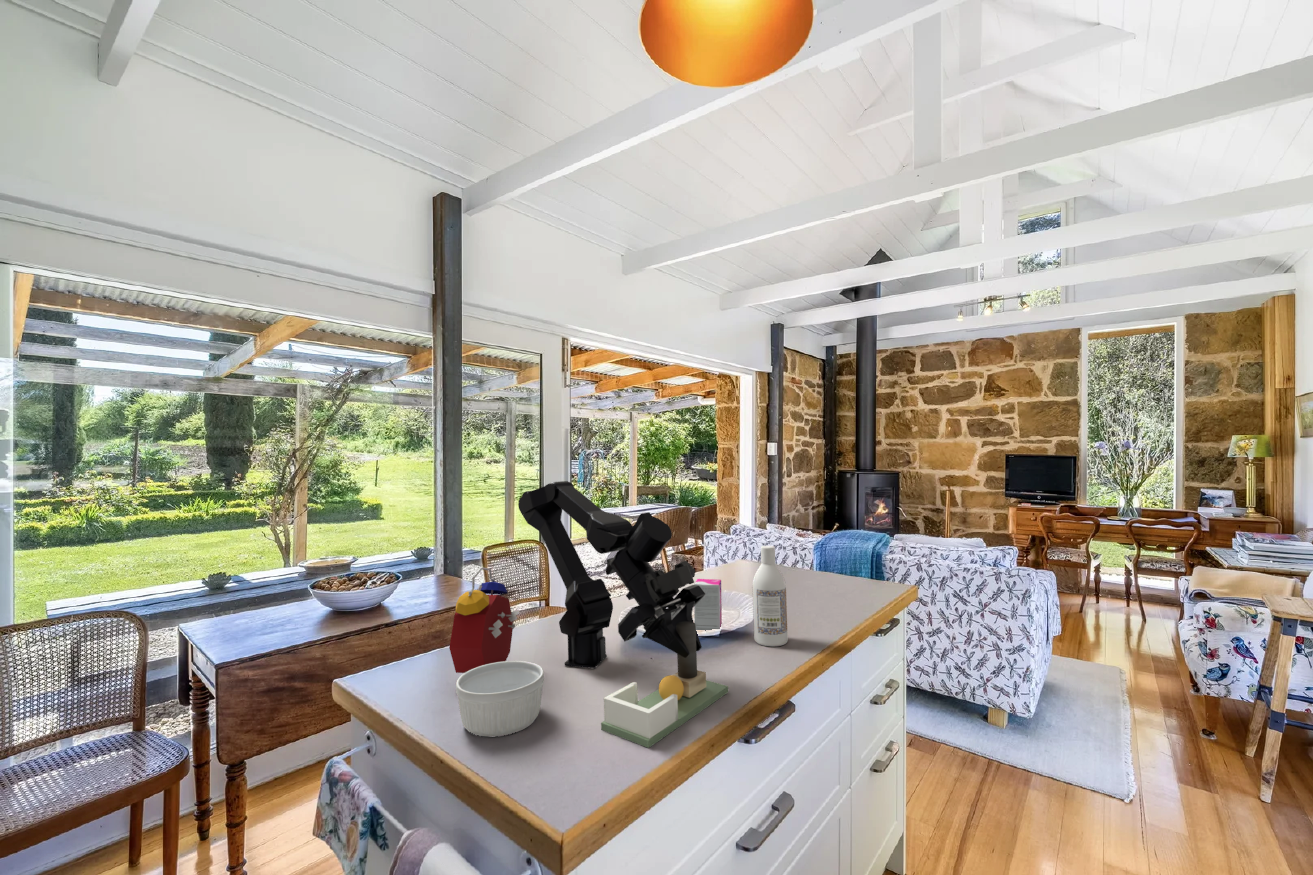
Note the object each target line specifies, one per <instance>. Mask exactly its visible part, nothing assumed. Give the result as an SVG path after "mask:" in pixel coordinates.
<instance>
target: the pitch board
mask: <svg viewBox="0 0 1313 875" xmlns="http://www.w3.org/2000/svg"><path fill="white" fill-rule="evenodd" d="M728 693H729V685H726V684H722V683H718V682H716V681H715V682H714V681H712V680H708V679H706V687H705V688H704V689H702V690H701V691H699V692H698V693H696V694H695V695H693V696H692V697H690V698H688V697H685V696H682V697H681V698H680V699H679V700H678V720H677V721H675V722H673V723H672V724H671V725H669V726H668V727H666V728H665V729H663V730H662V731H660V732H659V733H657V734H656V735H654V736H653V737H651V738H650V739H649V738H646V737H643V736H641V735H638V734H636V733H633V732H630V731H628V730H625V729H622V728H620V727H617V726H614V725H612V724H609V723H606V722H604V720H603V721H601V723H600V728H601V730H602V731H603V732H607V733H608V734H611V735H614V736H616V737H619V738H622V739H625V740H627V741H629V742H632V743H635V744H637V745H639V746H642V747H645V748H648V749H649V748H651V747H652V746H653V745H655V744H657V742H658V743H659V741H660V740H662V739H664V738H665V737H666V736H668V735H669V734H671V733H672V732H673V731H675V730H676V729H678V728H679V727H682V725H684V724H685V723H687V722H688V721H690V719H692V718H694V717H695V716H697V715H699V713H701V712H702V711H704V710H705V709H706V708H708V707H709V706H711V705H712V704H714V703H716V701H718V700H719V699H721V698H722V697H724V696H725V695H726V694H728ZM661 701H663V699H662V697H661V696H660V693H659V688H658V689H657V690H655V691H654V692H651V693H650V694H648V695H646V696H645V697H642V699H640V700H639V699H638V706H641V707H644V708H647V709H650V708H651V707H653V706H655V705H656V704H658V703H660V702H661ZM670 732H671V733H670ZM663 737H664V738H663Z"/></svg>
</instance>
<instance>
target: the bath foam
mask: <svg viewBox="0 0 1313 875" xmlns="http://www.w3.org/2000/svg"><path fill="white" fill-rule="evenodd" d="M760 560H761V563H760V565H759V567H758V569H757V570H756V572H755V574H754V576H753V580H752V587H751V588H752V609H753V610H752V612H753V613H752V615H753V635H754V636H753V638H754V639H753V640H754V641H755V643H756V644H758V645H761V646H764V647H780V646H785V644H787V643H788V639H789V638H788V636H789V635H788V609H787V608H788V607H787V587H786V586H787V584H786V581H785V577H784V575H783V573H782V572H781V569H780V568H779V567H778V565H777V564H776V547H775V546H774V545H762V546H760Z"/></svg>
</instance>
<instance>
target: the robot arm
mask: <svg viewBox="0 0 1313 875" xmlns="http://www.w3.org/2000/svg"><path fill="white" fill-rule="evenodd" d="M517 504H518V510H519V511H520V514H521V516H523V518H524V520H525V521H526V523H527V524H528V525H529V526H531V527H532V528H533V529H534V530H535V529H536V530H537V531H538V532H539V533H540V536H541V537H542V539H543V542H544V544H545V547H546V548H547V550H548V552H549V555H550V557H551V558H552V561H553V563H554V565H555V567H556V570H557V572H558V574H559V575H560V578H561V580H562V582H563V584H564V587H565V589H566V594H565V599H564V606H565V609H566V611H565V612H564V614H563V616H562V617H561V618H560V619H559V621H558V625H559V628H560V629H559V630H560V633H561V634H563V635H566V636H567V658H568V659H567V660H566V661H564V666H565V667H573V668H574V667H575V668H584V669H585V668H586V669H596V668H597V667H598V666H599V665H600V664H601V663H602V662H603V661H605V659H607V657H608V654H607V652H606V651H607V650H606V649H607V648H606V646H607V645H606V636H605V635H604V629H605V628H609V627H610V624H611V618H612V614H613V611H614V610H613V609H614V603H613V601H612V599H611V596H612V594H611V592H609V590H608V588H607V587H606V584H605V581H604V580H603V579H602V578H597V579H593V578H591V576H590V575H589V573H588V572H587V569H586V567H585V566H584V564H583V562H582V560H581V558H580V556H579V554H578V552H577V550H576V548H575V546H574V544H573V542H572V540H571V538H570V536H569V534H568V532H567V530H566V528H565V526H564V524H563V521H562V513H563V511H564V512H565V513H566V514H567V515H568V516H569V517H571V519H573V521H575V522H576V523H577V524H579V526H580V527H582V528H583V530H584V531H585V534H586V540H587V541H588V542H589V544H590V545H591V546H592V548H593V549H594V550H595V551H596V552H597V553H599V554H600V555H601V554H602V555H603V554H608V553H614V552H616V553H615V554H614V556H613V557H611V558H607V560H606V568H605V574H606V575H607V576H609V575H612V574H614V573H616V575H617V576H618V578H619V580H620V581H621V582H622V583H623V585H624V586H625V587H626V589H627V590H628V592H627V593H626V595H625V597H626V598H627V599H628V601H630V600H634V601H635V602H636V604H637V605H636V606H633V607H632V608H630V610H629V611H628V612H627V614H625V616H624V617H623V618H622V619H621V620H620V621H619V623H618V624H617V631H618V632H617V633H618V634H619V636H620V637H621V638H622V640H623V641H624V643H625V642H627V641H630V640H632V639H633V638H635V637H636V636H638V632H637V631H638V628H639V627H641V626H643V629H644V633H643V634H642V635H641V637H642V638H643V639H648V640H650V641H653V642H654V643H657V644H659V645H661V646H663V647H664V648H667V649H668V650H670V651H672V652H673V653H675V654H676V655H677V654H679V655H681V656H682V657H684V658H687V657H688V656H689V655H690V653H689V651H688V649H687V647H686V645H685V644H684V642H683V641H682V639H681V637H680V636H679V634H678V633H677V630H676V624H677V623H679V622H693V623H694V618H693V610H694V606H695V605H696V604H697V603H698V602H699V601H700V600H701V599H702V598H703V597H704V595H705V593H704V591H703V590H702V589H701V587H700V586H699V585H694V584H695V580H694V578H695V575H696V569H695V568H694V567H693V566H692V565H691V564H690V563H689V561H687V560H683V561H681V562H680V563H676V564H674V569H672V570H668V571H667V572H664V571H663V570H661V569H657V570H655V569H654V568H653V567H652V565H651V564H650V563H652V562H654V561H655V560H656V559H657V558H658V556H659V555H660V554H661V552H662V551H663V550H664V548H665V547H666V545H667V544H668V543H669V542H670V540H672V536H673V532H672V529H671V528H670V526H669V524H668V523H665V522H664V521H663V520H662V519H659V518H658V517H656V516H653V515H652V513H651V512H649V511H648V512H642V513H640V514H639V516H638V517H637V520H636V521H635V523H634V524H633V525H632V523H631V522H630V521H629V520H628V519H626V518H624V517H622V516H621V515H618V514H615V513H610V512H608V511H607V512H606V511H604V510H603V509H601V508H600V507H599V506H598V505H596V504H595V503H594V502H593V501H591V499H589V498H588V497H587V496H586V495H584V494H583V493H582V492H580V491H579V490H578V489H576V488H575V486H574V484H573V483H572V482H571V481H568V480H565V481H564V480H562V481H550V483H547V484H545V485H544V486H541V487H539V488H535V489H533V490H527V491H526V490H525V491H524V492H523V493H522V495H521V497H520V498H519V499H518V503H517ZM687 585H688V586H687ZM686 586H687V587H686ZM683 587H684V588H683ZM681 588H682V589H681ZM680 589H681V590H680ZM699 637H700V636H698V634H697V631H696V652H699V651H700V650H701V649H702V648H703V647H702V643H701V640H700V638H699Z"/></svg>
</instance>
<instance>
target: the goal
mask: <svg viewBox="0 0 1313 875" xmlns="http://www.w3.org/2000/svg"><path fill="white" fill-rule="evenodd" d="M638 693H639V692H638V682H636V681H633V682H631V683H629V684H627V685H626V686H624V687H622V688H620V689H618V690H616V691H614V692H612V693H611V694H609V695H606V696H605V697H603V710H604V711H603V715H604V716H603V717H604V718H603V719H604V720H603V721H604V722H606V723H609V724H612V725H614V726H617V727H620V728H622V729H625V730H628V731H630V732H633V733H636V734H638V735H641V736H643V737H646V738H649V739H650V738H651V737H653V736H654V735H656V734H657V733H659V732H660V731H662V730H663V729H665V728H666V727H668V726H669V725H671V724H672V723H673V722H675V721H677V720H678V700H677V695H676V694H672V695H671V696H669V697H668V698H666V699H664V700H663V701H661V702H660V703H658V704H656V705H655V706H653V707H651V708H650V709H647V708H644V707H641V706H638V701H639V697H638V696H639V695H638Z"/></svg>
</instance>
